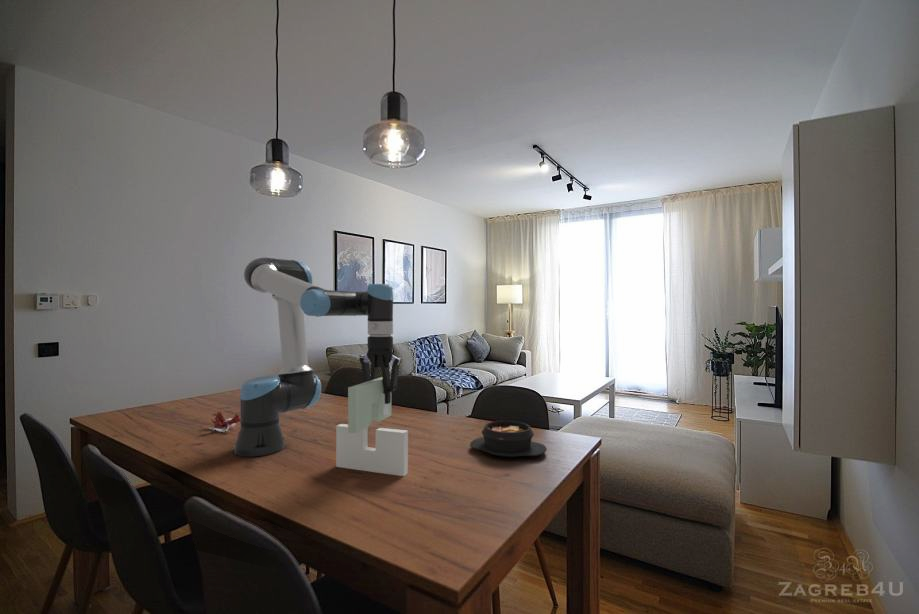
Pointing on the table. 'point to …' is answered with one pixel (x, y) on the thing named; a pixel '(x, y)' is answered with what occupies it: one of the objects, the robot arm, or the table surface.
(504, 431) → the casserole
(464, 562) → the table surface
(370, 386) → the green board
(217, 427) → the figurine
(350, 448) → the white board
